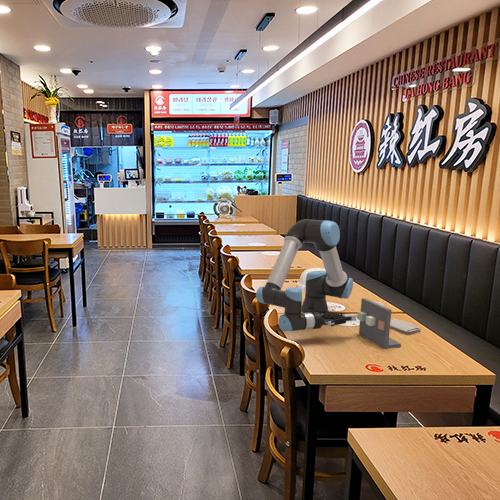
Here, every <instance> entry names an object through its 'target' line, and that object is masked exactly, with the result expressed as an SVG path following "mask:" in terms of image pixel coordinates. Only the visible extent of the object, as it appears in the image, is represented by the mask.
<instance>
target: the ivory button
mask: <svg viewBox="0 0 500 500" xmlns="http://www.w3.org/2000/svg"><path fill="white" fill-rule="evenodd" d="M375 322H376V317H374V316H366V324H367V325H369V326H375Z"/></svg>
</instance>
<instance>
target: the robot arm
mask: <svg viewBox="0 0 500 500" xmlns="http://www.w3.org/2000/svg"><path fill="white" fill-rule="evenodd" d="M340 231H341V230H340V227H339V225H338V224H337V223H336V222H335V221H331V220H323V219H321V220H320V219H310V218H305V219H301V220H299V221H297V222H296V223H295V222H294V224H292V226H291V227H290V228H289V229H288V230H287V232H286V234H284V235H285V236H284V237H283V241H284V242H283V245H282V247H281V250H280V252H279V253H278V256H277V258H276V260H275V263H274V265H273V267H272V269H271V272H270V274H269V276H268V278H267V281H266V282H265V285H264V286H259V287H258V288H257V289H256V293H255V298H256V301H257V302H258V303H261V304H265V305H271V306H275V307H280V308H284V313H283V314H281V315H279V317H278V327H279V329H280V330H281V331H282V332H295V331H307V330H318V329H321V328H322V327H323V326H328V325H330V327H335V326H339V325H344V324H346V323H347V322H355V321H357V315H358V314H356V313H351V314H344V313H343V312H340V313H328V312H329V308H328V307H329V306H328V303H327V299H326V298H327V296H328V297H334V298H337V299H344V300H345V299H346V300H347V299H348V298H350V297H351V295H352V290H353V287H354V279H353V278H352V277H348V274H347V273H346V272H345V271H344V270H343V267H342V263H341V260H340V256H339V253H338V249H337V244H338V243H339V241H340V238H341V234H340V233H341V232H340ZM304 243H306V244H312V245H314V248H315V250H316V251H318V252H319V255H320V258H321V260H322V263H323V264H322V265H323V268H324V269H325V270H326V271H312V272H308V273H307V276H306V290H305V292H304V293H305V294H304V298H303V291H302V290H301V289H299V288H297V287H293V286H292V287H291V286H290V287H286V288H285V290H282V287H283V286H284V283H285V281H286V278H287V276H288V273H289V271H290V269H291V266H292V265H293V262H294V260H295V257H296V255H297V253H298V250H300V249H301V248H302V247H303V244H304Z"/></svg>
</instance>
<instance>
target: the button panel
mask: <svg viewBox="0 0 500 500" xmlns="http://www.w3.org/2000/svg"><path fill="white" fill-rule="evenodd" d="M360 301H361V303H360V312H362V311H363V312H365V313H367V316H374V317H376V322H375V326H369V325H367V324H366V321H360V320H359V327H358V328H359V329H358V335H360V336H362V337H363V338H365V339H367V340H368V341H370V342H372V343H373V344H376V345H378V346H379V347H381V348H382V349H384V350H385V349H394V348H401V347H402V343H401V342H399V341H397V340H395V339H393V338H391V337H390V331H391V329H390V321H391V319H392V309H390V308H388V307H386V306H385V305H384V306H382V305H379V304H377V303H375V302H376V301H372V300H370V299H368V298H361V300H360ZM379 320H382V321H384V322H385V330H384V331H383V330H381V329H379V328H378V323H379Z"/></svg>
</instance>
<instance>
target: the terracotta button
mask: <svg viewBox="0 0 500 500" xmlns="http://www.w3.org/2000/svg"><path fill="white" fill-rule="evenodd" d="M378 328H379V329H381V330H383V331H384V330H385V322H384V321H382V320H379V323H378Z"/></svg>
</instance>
